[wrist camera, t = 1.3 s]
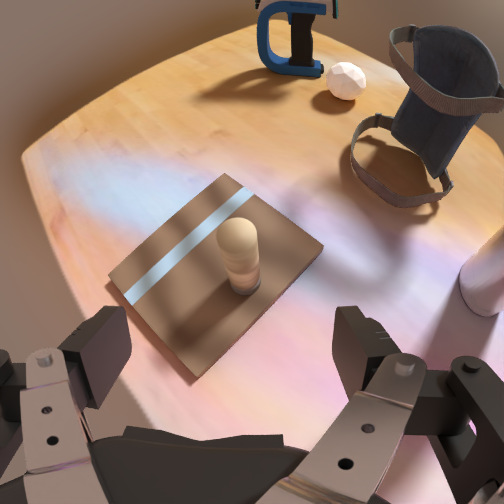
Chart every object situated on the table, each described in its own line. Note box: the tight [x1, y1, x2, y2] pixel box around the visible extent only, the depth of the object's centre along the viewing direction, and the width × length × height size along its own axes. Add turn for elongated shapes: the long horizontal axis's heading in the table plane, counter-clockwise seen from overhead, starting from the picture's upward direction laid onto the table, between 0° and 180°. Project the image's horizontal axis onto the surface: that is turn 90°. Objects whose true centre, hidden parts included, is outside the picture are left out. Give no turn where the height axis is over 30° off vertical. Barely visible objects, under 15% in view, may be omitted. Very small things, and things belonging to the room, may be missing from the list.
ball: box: [326, 62, 366, 100], centre depth 53 cm, size 8×8×8 cm
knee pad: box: [351, 24, 504, 208], centre depth 36 cm, size 18×20×25 cm
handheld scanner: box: [255, 0, 338, 77], centre depth 52 cm, size 4×16×19 cm, turn 83°
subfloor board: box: [108, 173, 324, 378], centre depth 40 cm, size 22×18×2 cm
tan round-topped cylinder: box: [216, 218, 261, 295], centre depth 33 cm, size 4×4×11 cm
